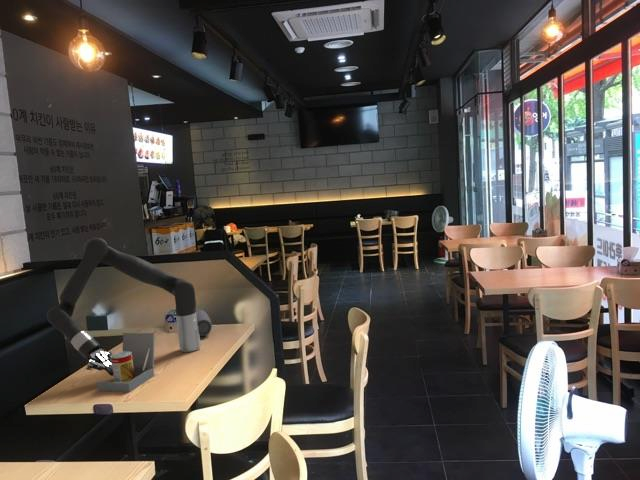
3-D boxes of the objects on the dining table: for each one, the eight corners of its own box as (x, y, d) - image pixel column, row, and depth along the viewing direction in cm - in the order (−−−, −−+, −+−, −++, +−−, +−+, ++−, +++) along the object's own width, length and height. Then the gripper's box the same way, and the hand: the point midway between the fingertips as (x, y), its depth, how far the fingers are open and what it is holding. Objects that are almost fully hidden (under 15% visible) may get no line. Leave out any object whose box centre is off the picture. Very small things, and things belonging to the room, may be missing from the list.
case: (97, 390, 207) (91, 348, 205) (129, 371, 226) (124, 332, 223) (129, 392, 202) (123, 349, 200) (160, 372, 221) (154, 332, 219)
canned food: (139, 379, 214) (135, 351, 213) (126, 387, 207) (121, 358, 206) (124, 378, 217) (120, 350, 216) (110, 386, 210) (106, 357, 209)
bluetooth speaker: (191, 328, 284) (189, 310, 283) (209, 325, 287) (207, 307, 286) (195, 339, 263) (192, 320, 262) (213, 336, 266) (211, 317, 264)
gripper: (78, 343, 208) (107, 374, 206) (101, 332, 220) (129, 361, 218) (69, 355, 210) (98, 386, 208) (92, 344, 223) (120, 373, 220)
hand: (114, 373), depth 213 cm, fingers closed
